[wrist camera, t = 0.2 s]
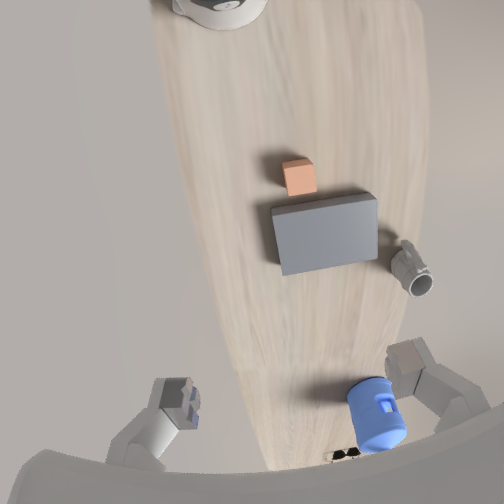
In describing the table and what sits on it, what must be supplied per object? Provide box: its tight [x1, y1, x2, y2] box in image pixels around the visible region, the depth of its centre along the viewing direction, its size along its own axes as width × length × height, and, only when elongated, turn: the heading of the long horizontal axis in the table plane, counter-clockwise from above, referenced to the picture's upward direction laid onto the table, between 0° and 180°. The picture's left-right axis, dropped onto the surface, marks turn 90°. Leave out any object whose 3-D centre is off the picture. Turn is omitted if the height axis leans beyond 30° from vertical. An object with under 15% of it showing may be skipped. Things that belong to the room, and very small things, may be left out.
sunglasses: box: [331, 447, 361, 463], centre depth 116 cm, size 14×16×5 cm
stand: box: [271, 192, 378, 276], centre depth 58 cm, size 13×20×4 cm, turn 101°
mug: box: [391, 240, 434, 298], centre depth 58 cm, size 8×12×12 cm, turn 22°
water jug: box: [347, 378, 407, 453], centre depth 76 cm, size 16×16×28 cm
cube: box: [282, 158, 317, 196], centre depth 52 cm, size 5×5×5 cm
